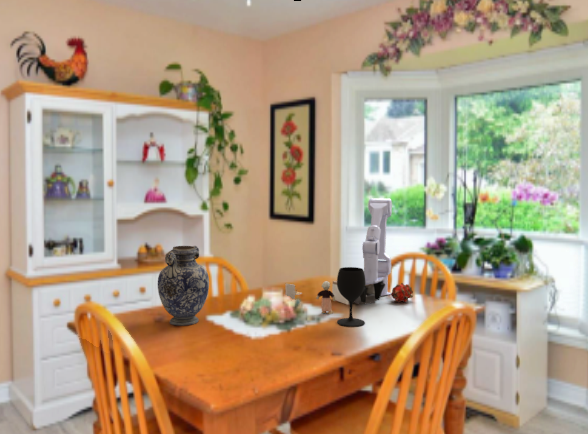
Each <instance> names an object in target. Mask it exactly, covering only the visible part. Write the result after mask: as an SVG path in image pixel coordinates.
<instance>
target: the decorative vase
mask: <svg viewBox="0 0 588 434" xmlns="http://www.w3.org/2000/svg"><path fill="white" fill-rule="evenodd" d="M199 257H200V249H199V247H198V246H197V245H193V246H191V245H177V246H173V248H172V249H170V250H169V251H168V252H167V253H166V254H165V256H164V258H165V261H164V262H165V264H167V265H165V267H163V268H162V269H161V270H160V272H159V274H158V277H157V292H158V296H159V299H160V302H161V304H162V306H163V308H164V310H165V311H166V312H167V313H168V314H169V315H171V316H172V318H170V319H169V324H170V325H172V326H178V327H184V326H192V325H196V324H198V322H199V318H198V317H197V316H196V315H197V314H199V312H200V311H201V310H202V309H203V307H204V305H205V303H206V300H207V298H208V294H209V291H210V278H209V277H210V276H209V274H208V273H209V272H208V271H207V270H206V268H205V266H202V265H200V264H199V263H198V262H197V259H199Z"/></svg>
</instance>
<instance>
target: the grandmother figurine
mask: <svg viewBox="0 0 588 434" xmlns="http://www.w3.org/2000/svg"><path fill="white" fill-rule="evenodd" d="M330 287H331V283H330V282H329V281H327V280H326V281H323V282H322V284H321V288H322V290H320V291H319V292H318V293H317V295H316V297H315V299H316V300H319V299H320V297H322V298H321V314H322V313H326V314H327V315H332V314H333V313H334V311H332V301H333V302H336V299H335V297H334V295H333V293H332V290H330ZM331 298H332V299H331Z"/></svg>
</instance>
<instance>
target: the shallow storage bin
mask: <svg viewBox="0 0 588 434" xmlns="http://www.w3.org/2000/svg"><path fill="white" fill-rule="evenodd" d="M365 287H368V289H367V293H369V294H373V295H375V290H374V285H373V284H368V285H365ZM331 292H332V293H333V295H334V297H335V299H336V300H335V302H339V303H342V304H345V305H349V301H348V300H347V299H345V298H344V297H343V296H342V295H341V294H340V292H339V290H338V287H337V280H332V289H331Z"/></svg>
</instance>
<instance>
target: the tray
mask: <svg viewBox="0 0 588 434" xmlns="http://www.w3.org/2000/svg"><path fill="white" fill-rule="evenodd" d="M375 302H376V300H375V295H373V294H369V293H366V302H365V303H363V302H361V298H360V297H359V298H357V299H356V300H355V301H353V304H357V305H358V306H359V305H368V304H374V303H375Z"/></svg>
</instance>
